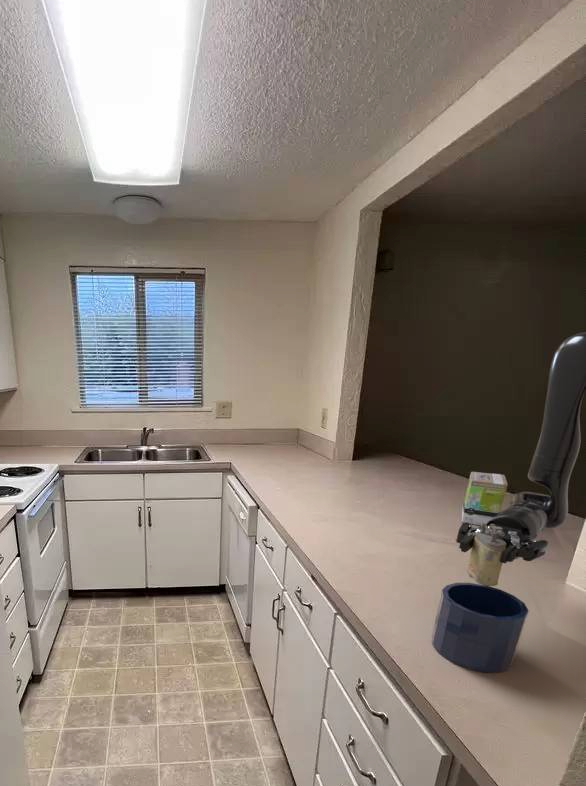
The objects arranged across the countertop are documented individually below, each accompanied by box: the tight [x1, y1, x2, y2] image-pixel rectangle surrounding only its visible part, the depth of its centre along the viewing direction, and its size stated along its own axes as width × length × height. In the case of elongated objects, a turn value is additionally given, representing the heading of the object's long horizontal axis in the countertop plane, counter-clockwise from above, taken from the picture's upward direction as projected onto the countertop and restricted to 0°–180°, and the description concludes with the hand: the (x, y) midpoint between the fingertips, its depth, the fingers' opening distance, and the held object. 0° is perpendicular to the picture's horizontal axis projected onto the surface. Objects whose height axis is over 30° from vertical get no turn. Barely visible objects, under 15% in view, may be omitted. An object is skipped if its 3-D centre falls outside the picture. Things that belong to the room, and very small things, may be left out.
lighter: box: [465, 523, 506, 587], centre depth 78 cm, size 7×4×10 cm, turn 169°
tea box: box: [461, 471, 509, 526], centre depth 145 cm, size 15×10×15 cm
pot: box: [431, 582, 530, 674], centre depth 80 cm, size 13×13×11 cm
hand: (483, 552), depth 77 cm, fingers closed on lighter, 5 cm apart
